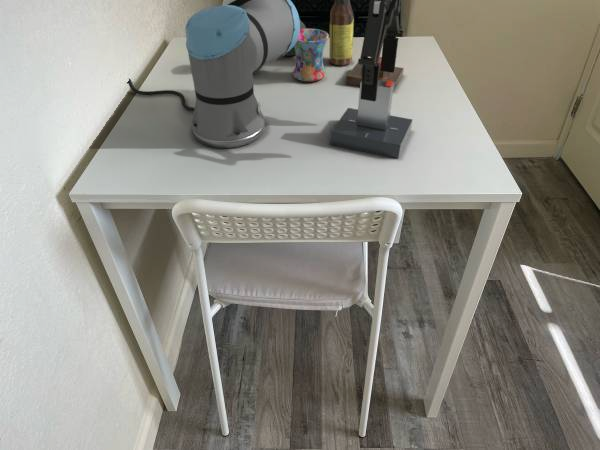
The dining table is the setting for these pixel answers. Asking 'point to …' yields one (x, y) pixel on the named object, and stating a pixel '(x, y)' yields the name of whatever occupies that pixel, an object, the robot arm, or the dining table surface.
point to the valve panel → (371, 135)
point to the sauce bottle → (341, 32)
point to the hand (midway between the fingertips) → (378, 84)
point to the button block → (357, 71)
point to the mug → (310, 55)
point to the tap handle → (376, 107)
